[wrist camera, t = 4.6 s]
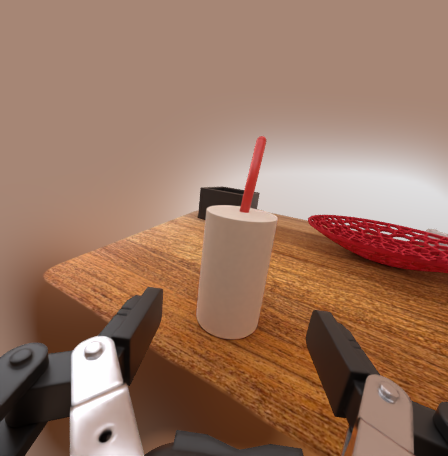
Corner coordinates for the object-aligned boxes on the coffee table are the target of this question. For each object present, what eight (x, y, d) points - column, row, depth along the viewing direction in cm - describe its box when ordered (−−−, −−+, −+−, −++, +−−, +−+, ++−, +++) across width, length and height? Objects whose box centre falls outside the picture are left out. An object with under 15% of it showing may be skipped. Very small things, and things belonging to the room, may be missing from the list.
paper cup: (183, 320, 19) (198, 121, 15) (215, 291, 24) (234, 136, 20) (243, 351, 17) (283, 122, 12) (265, 311, 22) (300, 139, 17)
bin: (198, 217, 56) (200, 187, 54) (219, 212, 66) (222, 186, 64) (238, 227, 51) (243, 195, 49) (255, 220, 61) (259, 192, 59)
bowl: (546, 341, 22) (573, 299, 21) (281, 251, 39) (286, 224, 38) (468, 263, 45) (478, 241, 44) (322, 227, 62) (326, 210, 61)
